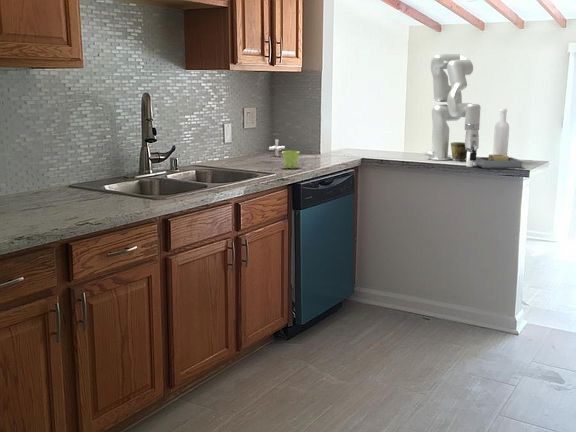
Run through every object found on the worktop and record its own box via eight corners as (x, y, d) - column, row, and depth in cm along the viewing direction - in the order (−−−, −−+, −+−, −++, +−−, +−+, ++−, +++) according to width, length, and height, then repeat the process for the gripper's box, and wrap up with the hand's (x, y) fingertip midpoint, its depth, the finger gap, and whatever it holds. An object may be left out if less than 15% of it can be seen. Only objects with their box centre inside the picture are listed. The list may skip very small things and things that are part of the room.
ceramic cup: (452, 158, 367) (453, 142, 365) (469, 160, 362) (470, 142, 360) (446, 161, 356) (447, 144, 354) (463, 162, 351) (464, 144, 349)
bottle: (497, 163, 349) (501, 109, 342) (489, 161, 356) (493, 108, 350) (509, 162, 351) (513, 108, 344) (501, 160, 358) (505, 108, 352)
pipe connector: (266, 155, 383) (266, 139, 380) (280, 154, 387) (280, 138, 385) (272, 157, 374) (272, 140, 372) (287, 156, 378) (287, 140, 376)
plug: (467, 166, 335) (468, 150, 333) (465, 165, 338) (466, 149, 337) (473, 166, 335) (474, 150, 333) (471, 165, 339) (472, 149, 337)
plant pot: (278, 167, 332) (278, 151, 330) (290, 166, 338) (290, 150, 336) (290, 169, 325) (290, 153, 323) (303, 167, 331) (303, 151, 330)
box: (483, 168, 328) (484, 157, 327) (474, 164, 344) (475, 153, 342) (521, 168, 328) (522, 157, 327) (510, 164, 344) (511, 153, 342)
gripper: (484, 128, 324) (482, 161, 327) (474, 126, 341) (472, 157, 344) (469, 128, 324) (467, 161, 327) (460, 126, 341) (458, 157, 344)
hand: (470, 159), depth 336 cm, fingers open, 9 cm apart
